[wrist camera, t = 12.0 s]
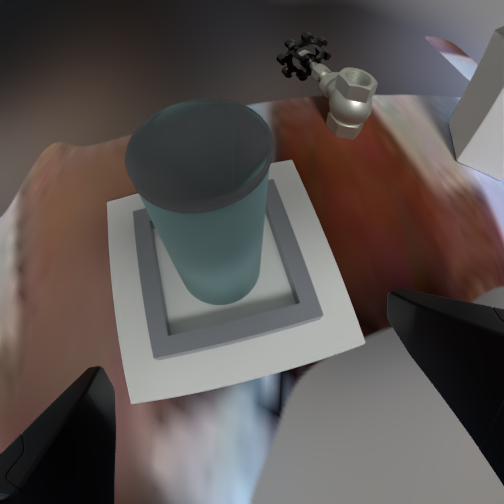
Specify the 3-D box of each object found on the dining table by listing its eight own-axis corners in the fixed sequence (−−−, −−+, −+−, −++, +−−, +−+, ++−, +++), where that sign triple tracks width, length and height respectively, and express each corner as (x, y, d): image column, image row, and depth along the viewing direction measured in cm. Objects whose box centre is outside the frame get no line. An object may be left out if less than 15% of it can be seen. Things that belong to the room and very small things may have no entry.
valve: (378, 136, 30) (322, 73, 35) (398, 88, 24) (330, 30, 29) (326, 147, 29) (274, 80, 33) (341, 94, 23) (278, 33, 27)
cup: (270, 294, 21) (293, 183, 11) (188, 314, 21) (128, 221, 10) (248, 224, 24) (250, 88, 13) (174, 241, 23) (125, 115, 12)
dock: (360, 345, 21) (372, 340, 19) (135, 403, 19) (124, 404, 17) (290, 167, 27) (293, 150, 25) (111, 208, 25) (102, 193, 23)
